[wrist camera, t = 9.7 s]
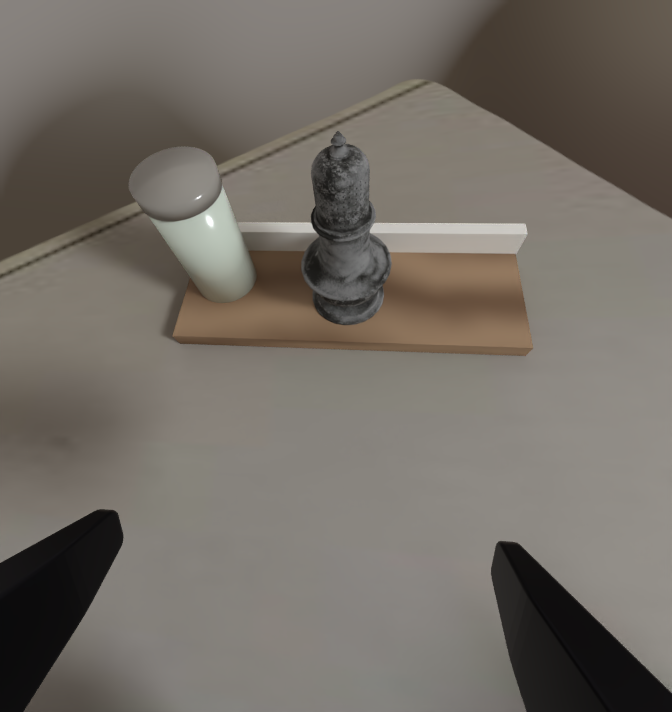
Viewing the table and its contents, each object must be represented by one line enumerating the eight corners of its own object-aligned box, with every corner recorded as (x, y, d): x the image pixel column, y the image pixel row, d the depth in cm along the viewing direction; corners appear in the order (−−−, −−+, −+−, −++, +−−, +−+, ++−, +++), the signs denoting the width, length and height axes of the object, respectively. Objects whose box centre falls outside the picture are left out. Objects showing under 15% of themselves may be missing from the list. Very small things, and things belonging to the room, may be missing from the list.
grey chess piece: (403, 284, 26) (431, 115, 15) (358, 343, 24) (356, 197, 13) (338, 251, 28) (323, 79, 17) (292, 304, 26) (243, 148, 15)
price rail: (510, 264, 28) (527, 234, 25) (205, 259, 30) (188, 231, 27) (508, 252, 28) (524, 221, 25) (208, 248, 30) (192, 220, 28)
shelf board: (525, 355, 24) (533, 348, 23) (180, 343, 27) (172, 335, 25) (507, 254, 28) (513, 243, 27) (206, 250, 30) (201, 240, 29)
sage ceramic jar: (199, 310, 26) (128, 215, 18) (194, 262, 28) (128, 157, 20) (262, 295, 27) (220, 194, 18) (252, 248, 29) (211, 139, 20)
